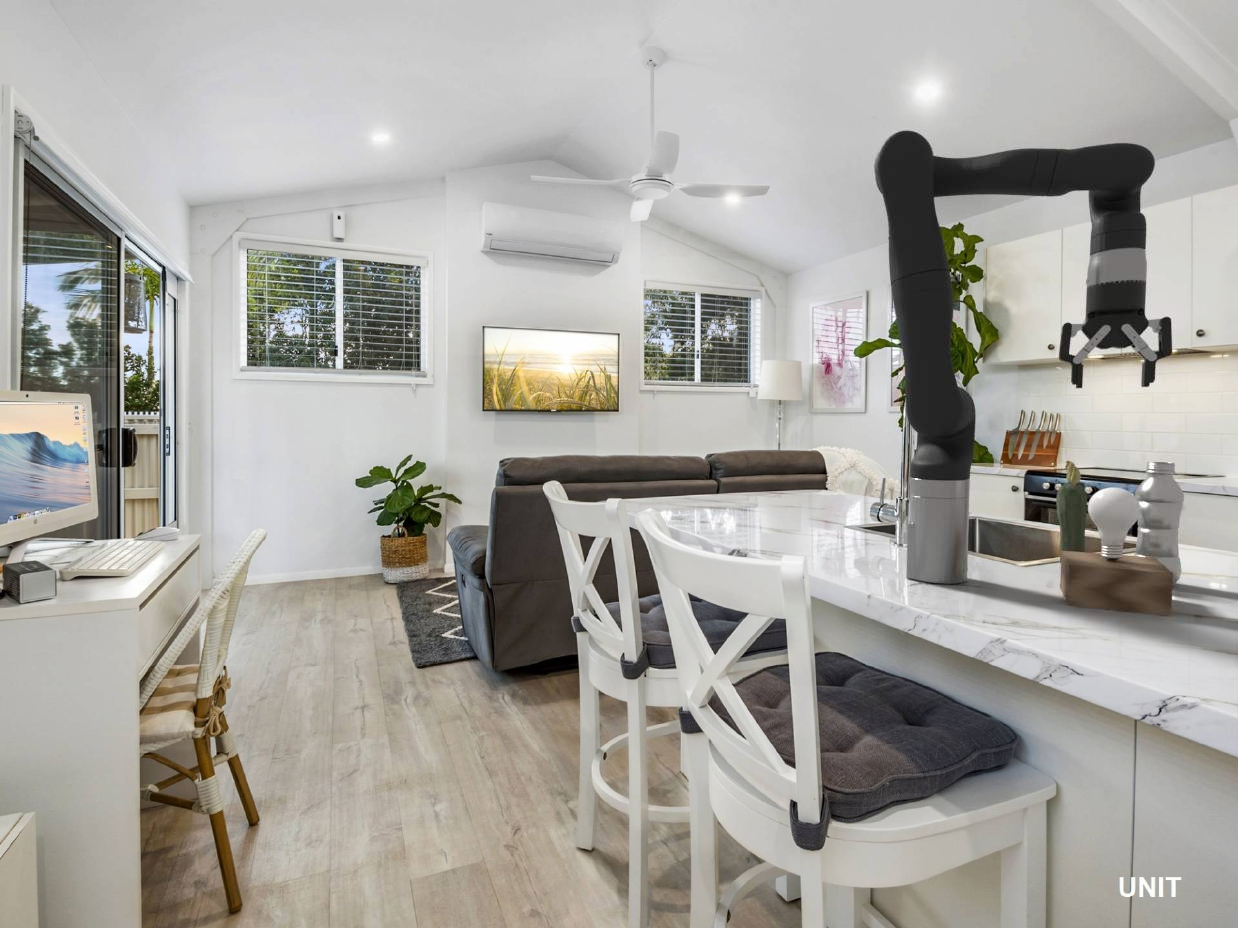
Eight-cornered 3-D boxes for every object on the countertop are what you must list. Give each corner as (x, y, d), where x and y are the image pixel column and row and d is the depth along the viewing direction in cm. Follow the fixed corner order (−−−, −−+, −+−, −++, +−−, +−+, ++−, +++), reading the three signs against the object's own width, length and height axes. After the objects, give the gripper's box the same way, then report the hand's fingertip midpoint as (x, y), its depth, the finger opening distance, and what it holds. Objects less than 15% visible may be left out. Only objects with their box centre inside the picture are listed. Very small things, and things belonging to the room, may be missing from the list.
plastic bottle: (1138, 586, 111) (1143, 463, 110) (1125, 577, 117) (1130, 461, 116) (1187, 590, 108) (1193, 464, 107) (1171, 580, 115) (1177, 461, 113)
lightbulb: (1076, 556, 106) (1078, 485, 105) (1117, 555, 106) (1120, 484, 105) (1104, 565, 99) (1107, 490, 98) (1149, 564, 99) (1152, 489, 98)
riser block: (1067, 605, 100) (1069, 564, 100) (1060, 587, 111) (1061, 550, 110) (1171, 615, 94) (1173, 573, 94) (1152, 595, 105) (1154, 557, 105)
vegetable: (1088, 579, 116) (1093, 461, 115) (1060, 578, 117) (1064, 461, 115) (1076, 573, 120) (1081, 460, 119) (1049, 572, 121) (1053, 460, 120)
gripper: (1063, 283, 107) (1060, 388, 108) (1179, 273, 100) (1174, 385, 101) (1059, 291, 113) (1056, 389, 114) (1168, 282, 106) (1163, 387, 107)
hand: (1111, 387), depth 107 cm, fingers open, 8 cm apart
